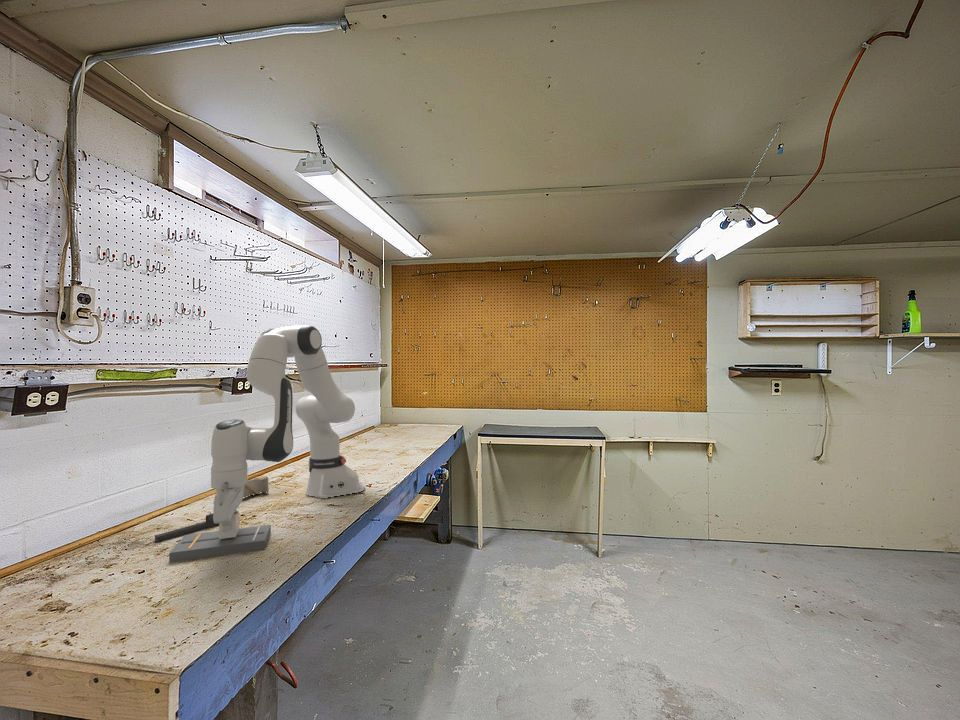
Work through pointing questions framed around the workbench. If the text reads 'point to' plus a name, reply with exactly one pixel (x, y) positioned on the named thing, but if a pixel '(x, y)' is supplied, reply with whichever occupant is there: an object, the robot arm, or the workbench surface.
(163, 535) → the dark grey bar
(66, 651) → the workbench surface
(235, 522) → the fader cap
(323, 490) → the robot arm
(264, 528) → the slider console
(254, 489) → the model
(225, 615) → the workbench surface
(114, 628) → the workbench surface
